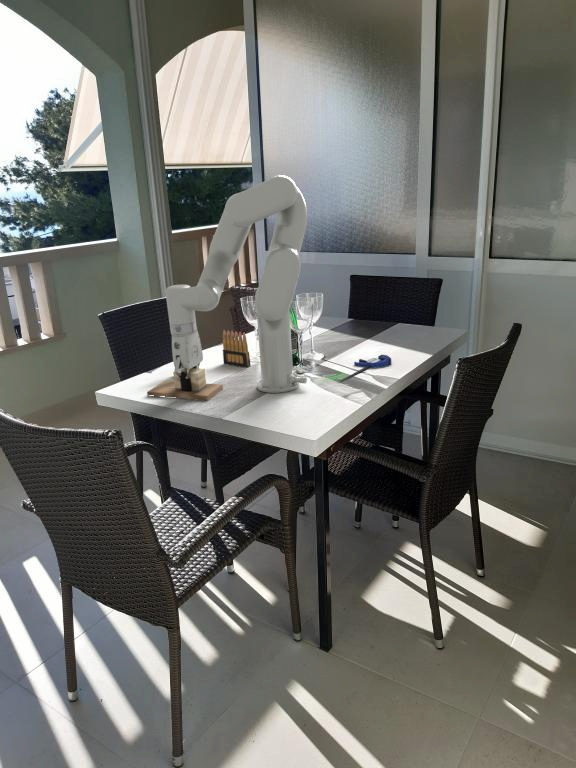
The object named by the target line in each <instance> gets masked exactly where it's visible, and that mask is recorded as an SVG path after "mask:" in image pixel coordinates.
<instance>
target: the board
mask: <svg viewBox="0 0 576 768" xmlns="http://www.w3.org/2000/svg"><path fill="white" fill-rule="evenodd" d="M223 389H224V388H223V384H222V383H220V384H219V383H206V387H205V388H204V389H202V390H201V391H190V392H189V391H182V390H175V382H174V381H168V380H167V381H166V380H164V381H163V382H161V383H158V385H156V386H154V387H152V388H151V389H149V390H147V391H146V393H147V396H148V395H154V396H165V397H176V398H175V399H177V398H188V399H187V400H191V399H198V400H197V401H206V400H208V401H209V400H211V399H212V398H213V397H215V396H216V395H217V394H219V393H220V392H221V391H223ZM218 392H219V393H218ZM214 395H215V396H214ZM210 398H211V399H210Z"/></svg>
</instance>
